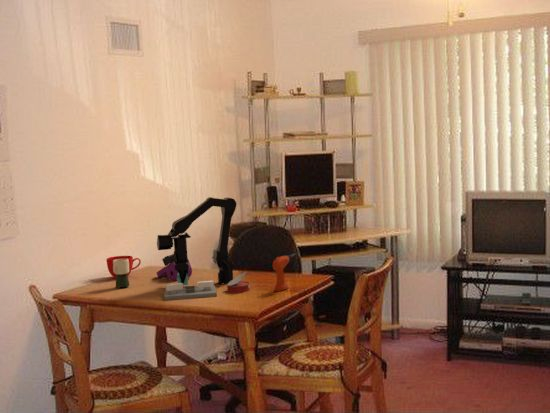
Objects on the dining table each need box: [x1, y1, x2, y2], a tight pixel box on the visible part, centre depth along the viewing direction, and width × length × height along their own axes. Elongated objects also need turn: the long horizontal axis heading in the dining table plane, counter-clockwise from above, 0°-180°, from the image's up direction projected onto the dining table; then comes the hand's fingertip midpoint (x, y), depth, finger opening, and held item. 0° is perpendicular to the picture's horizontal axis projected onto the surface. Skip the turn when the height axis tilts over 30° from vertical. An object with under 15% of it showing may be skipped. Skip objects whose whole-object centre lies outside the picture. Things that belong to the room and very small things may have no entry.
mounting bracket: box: [156, 259, 193, 282], centre depth 353 cm, size 10×8×18 cm
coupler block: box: [176, 273, 189, 286], centre depth 328 cm, size 5×4×5 cm
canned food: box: [226, 271, 251, 294], centre depth 315 cm, size 11×10×10 cm
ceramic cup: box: [106, 255, 142, 279], centre depth 363 cm, size 13×17×10 cm
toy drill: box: [272, 252, 296, 292], centre depth 316 cm, size 5×19×15 cm, turn 149°
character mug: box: [113, 259, 130, 289], centre depth 335 cm, size 11×7×13 cm, turn 153°
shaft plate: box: [163, 280, 218, 301], centre depth 312 cm, size 22×16×5 cm
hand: (182, 282), depth 328 cm, fingers closed on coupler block, 4 cm apart
